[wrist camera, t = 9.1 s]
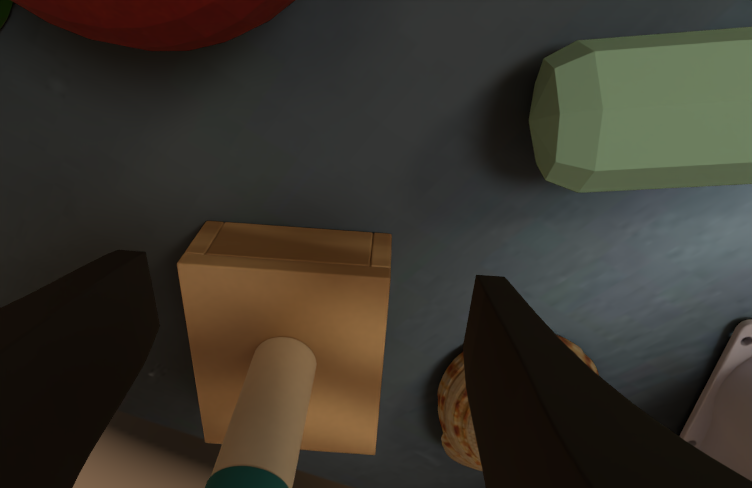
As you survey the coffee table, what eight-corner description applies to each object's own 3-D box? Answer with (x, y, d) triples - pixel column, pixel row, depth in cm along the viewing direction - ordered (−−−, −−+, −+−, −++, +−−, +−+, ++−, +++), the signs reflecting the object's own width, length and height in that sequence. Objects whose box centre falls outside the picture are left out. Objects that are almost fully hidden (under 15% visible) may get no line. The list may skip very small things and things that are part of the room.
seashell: (430, 490, 28) (446, 447, 21) (429, 387, 31) (442, 323, 25) (588, 498, 27) (652, 457, 21) (569, 393, 31) (620, 330, 24)
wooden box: (377, 399, 27) (375, 455, 24) (226, 387, 27) (204, 443, 24) (391, 233, 22) (390, 278, 19) (205, 219, 22) (175, 263, 19)
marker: (317, 386, 22) (280, 586, 15) (254, 381, 22) (189, 579, 15) (318, 337, 21) (277, 533, 14) (250, 332, 21) (177, 526, 14)
